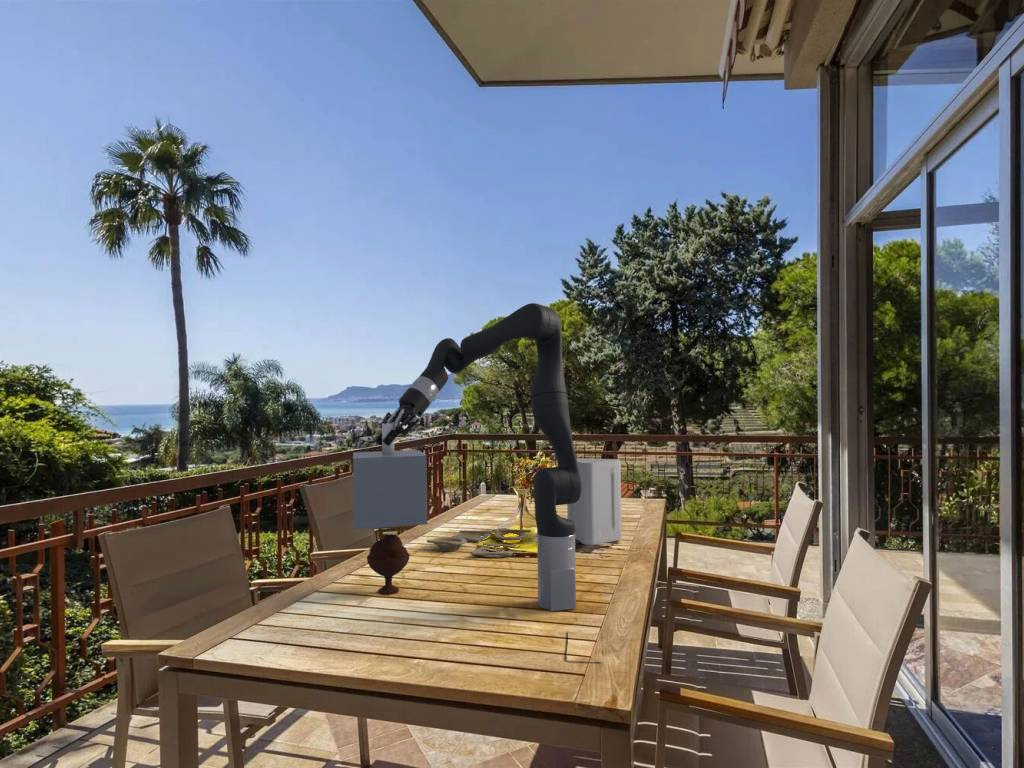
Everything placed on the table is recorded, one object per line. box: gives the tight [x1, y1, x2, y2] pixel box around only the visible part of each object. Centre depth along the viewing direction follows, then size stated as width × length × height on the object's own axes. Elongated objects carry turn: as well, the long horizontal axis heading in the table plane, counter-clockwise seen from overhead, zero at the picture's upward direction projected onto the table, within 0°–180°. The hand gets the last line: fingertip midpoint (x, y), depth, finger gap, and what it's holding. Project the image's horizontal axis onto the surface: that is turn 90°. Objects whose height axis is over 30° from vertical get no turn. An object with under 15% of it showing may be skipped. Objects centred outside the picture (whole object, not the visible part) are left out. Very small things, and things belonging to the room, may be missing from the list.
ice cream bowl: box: [366, 534, 411, 596], centre depth 159 cm, size 11×11×15 cm
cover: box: [352, 422, 428, 530], centre depth 159 cm, size 18×18×25 cm
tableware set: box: [426, 528, 532, 559], centre depth 209 cm, size 35×29×4 cm
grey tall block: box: [566, 458, 623, 546], centre depth 215 cm, size 19×15×28 cm
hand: (381, 443), depth 158 cm, fingers closed on cover, 3 cm apart
